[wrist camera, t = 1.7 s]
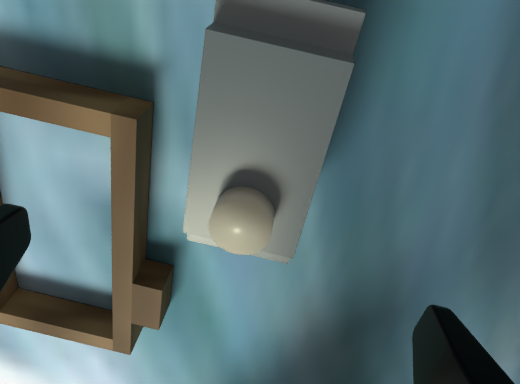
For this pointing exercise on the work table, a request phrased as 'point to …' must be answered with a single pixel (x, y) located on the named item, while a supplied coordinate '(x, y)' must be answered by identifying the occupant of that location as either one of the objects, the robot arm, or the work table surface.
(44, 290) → the work table surface
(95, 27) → the work table surface
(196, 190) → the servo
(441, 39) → the work table surface
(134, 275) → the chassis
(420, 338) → the robot arm
